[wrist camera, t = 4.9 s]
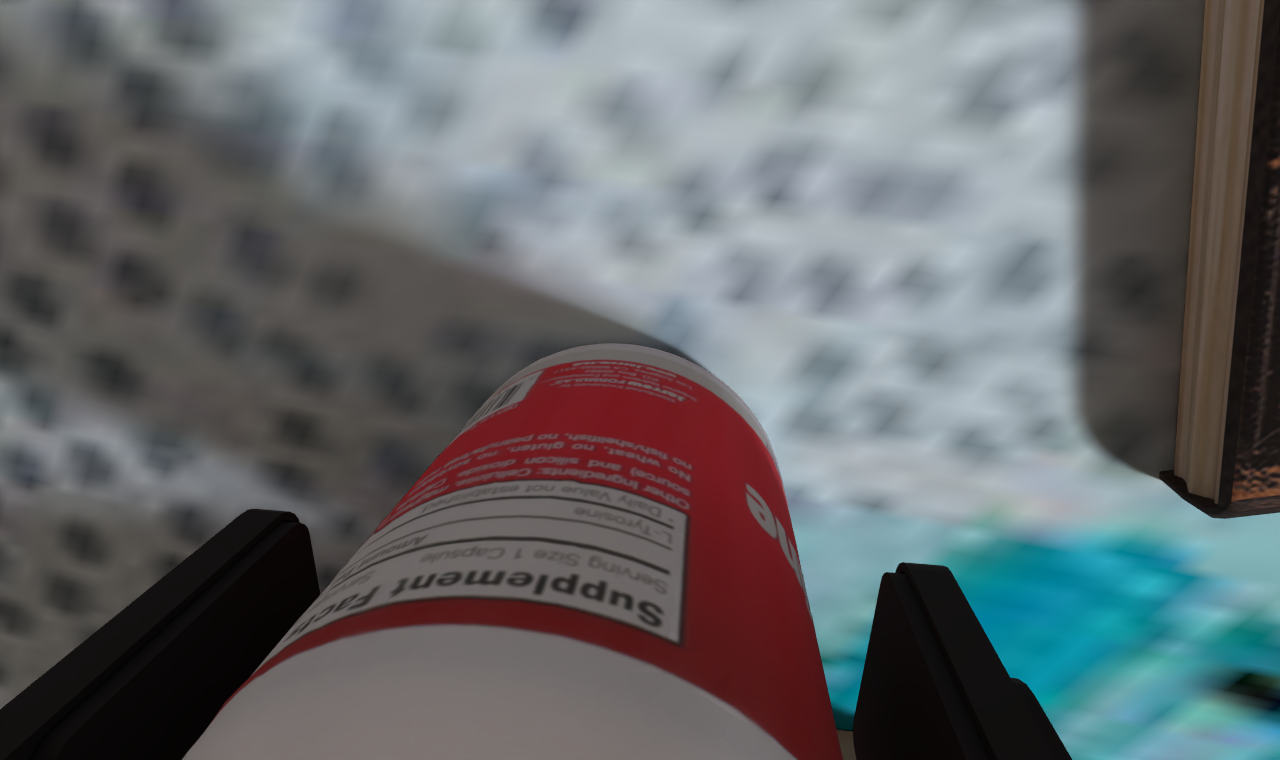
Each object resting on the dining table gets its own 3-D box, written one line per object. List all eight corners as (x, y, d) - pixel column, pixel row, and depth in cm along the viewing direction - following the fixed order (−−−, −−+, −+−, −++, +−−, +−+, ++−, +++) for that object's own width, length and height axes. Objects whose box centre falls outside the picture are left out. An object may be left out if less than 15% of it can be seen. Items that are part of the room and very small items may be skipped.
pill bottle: (756, 628, 14) (901, 2118, 3) (472, 591, 14) (-165, 1826, 4) (804, 349, 11) (1646, 2210, 1) (466, 315, 12) (-1121, 1491, 2)
